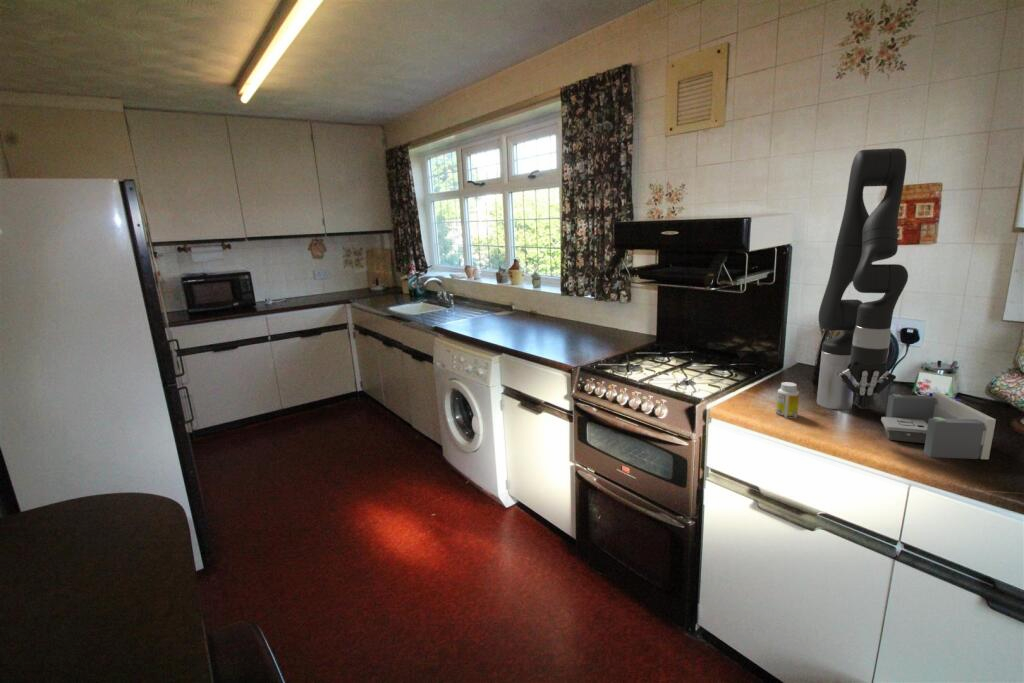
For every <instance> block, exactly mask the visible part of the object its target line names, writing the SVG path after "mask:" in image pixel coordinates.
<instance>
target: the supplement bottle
mask: <svg viewBox="0 0 1024 683" xmlns="http://www.w3.org/2000/svg"><path fill="white" fill-rule="evenodd" d="M797 388H798V386H797V384H796V383H795V382H790V381H785V382H783V381H782V382H781V384H780V388H779V389H777V394H776V395H777V396H776V411H775V414H776V415H777V416H779V417H780V418H781V417H782V418H786V419H794V418H797V417H798V413H799V412H798V411H799V401H800V400H799V398H800V391H799V390H797Z"/></svg>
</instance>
